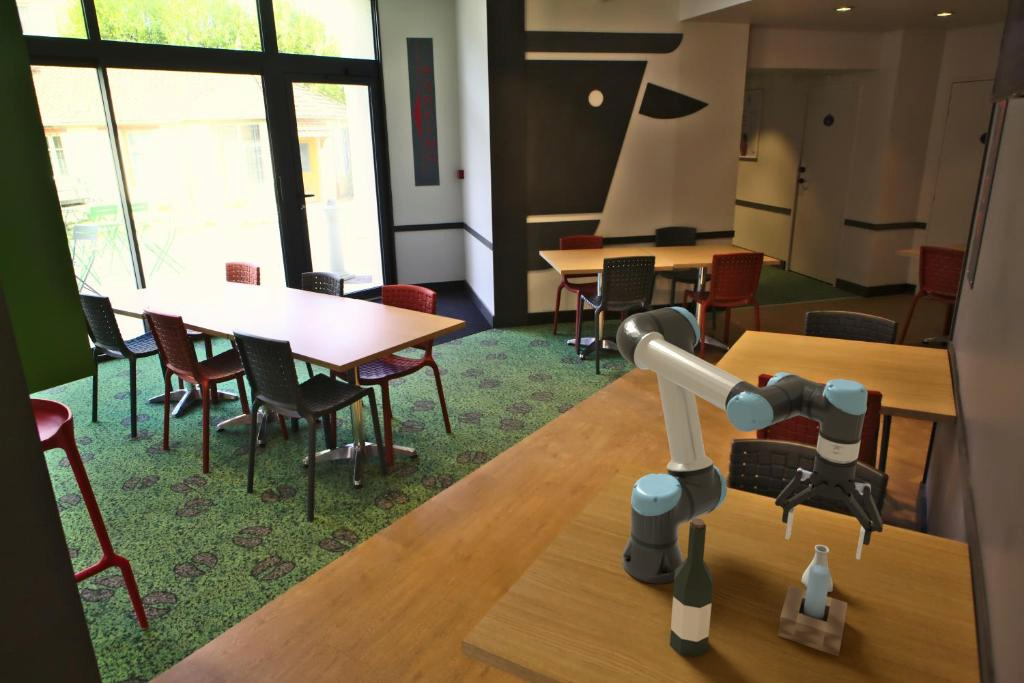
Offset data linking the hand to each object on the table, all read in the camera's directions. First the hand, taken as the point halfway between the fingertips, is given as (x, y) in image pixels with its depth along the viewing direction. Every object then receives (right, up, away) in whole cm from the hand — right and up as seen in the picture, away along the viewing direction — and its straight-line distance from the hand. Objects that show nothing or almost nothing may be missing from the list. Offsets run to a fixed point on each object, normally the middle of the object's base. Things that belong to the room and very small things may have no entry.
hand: (822, 545), depth 137 cm
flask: (+8, -16, +20) cm, 27 cm away
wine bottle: (-28, -22, +2) cm, 35 cm away
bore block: (0, -20, +6) cm, 21 cm away
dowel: (0, -19, +6) cm, 20 cm away
